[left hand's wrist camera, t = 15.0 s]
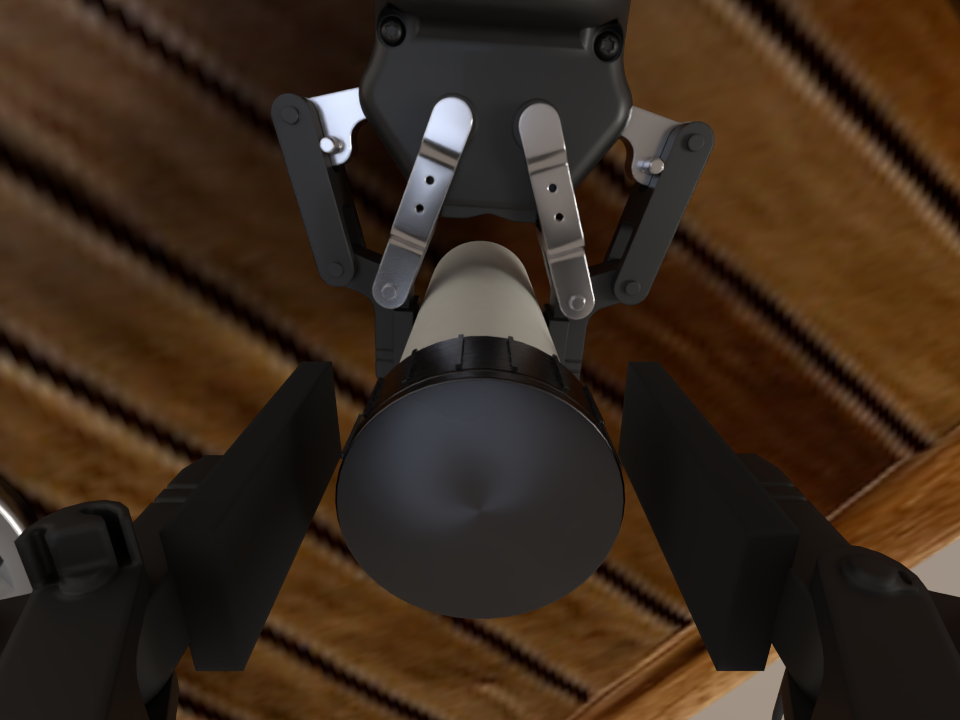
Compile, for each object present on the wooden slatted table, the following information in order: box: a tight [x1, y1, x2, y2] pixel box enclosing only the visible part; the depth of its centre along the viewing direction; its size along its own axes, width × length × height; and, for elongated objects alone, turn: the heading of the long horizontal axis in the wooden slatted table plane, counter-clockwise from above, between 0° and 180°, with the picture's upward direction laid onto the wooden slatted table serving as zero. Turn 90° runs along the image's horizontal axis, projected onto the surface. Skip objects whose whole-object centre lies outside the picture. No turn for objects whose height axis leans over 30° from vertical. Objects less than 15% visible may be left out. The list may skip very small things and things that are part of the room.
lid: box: [335, 334, 625, 619], centre depth 11 cm, size 6×6×2 cm
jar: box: [400, 241, 561, 363], centre depth 18 cm, size 5×5×16 cm
